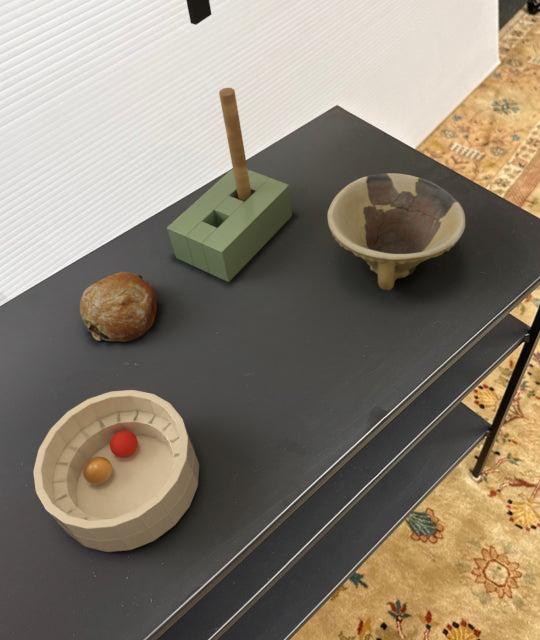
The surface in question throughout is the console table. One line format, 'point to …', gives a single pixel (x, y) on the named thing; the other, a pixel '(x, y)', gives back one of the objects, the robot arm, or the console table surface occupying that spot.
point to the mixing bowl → (118, 471)
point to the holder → (230, 224)
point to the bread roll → (118, 307)
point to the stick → (235, 142)
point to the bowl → (395, 223)
